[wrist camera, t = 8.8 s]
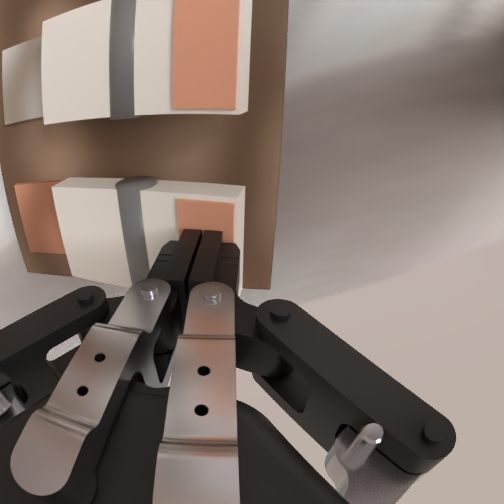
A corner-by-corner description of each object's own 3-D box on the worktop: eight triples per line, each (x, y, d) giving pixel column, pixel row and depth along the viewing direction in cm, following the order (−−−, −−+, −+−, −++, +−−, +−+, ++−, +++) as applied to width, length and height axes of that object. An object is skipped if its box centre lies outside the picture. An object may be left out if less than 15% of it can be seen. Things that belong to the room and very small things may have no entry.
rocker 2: (246, 182, 13) (236, 197, 11) (243, 287, 15) (234, 311, 14) (71, 174, 14) (48, 186, 12) (88, 262, 17) (70, 279, 15)
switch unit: (286, -104, 9) (291, -139, 5) (268, 252, 21) (270, 292, 17) (45, -63, 9) (10, -77, 5) (55, 243, 21) (25, 274, 17)
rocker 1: (254, -14, 9) (243, -28, 7) (249, 113, 11) (237, 118, 10) (65, 20, 10) (39, 19, 9) (66, 120, 13) (41, 128, 11)
